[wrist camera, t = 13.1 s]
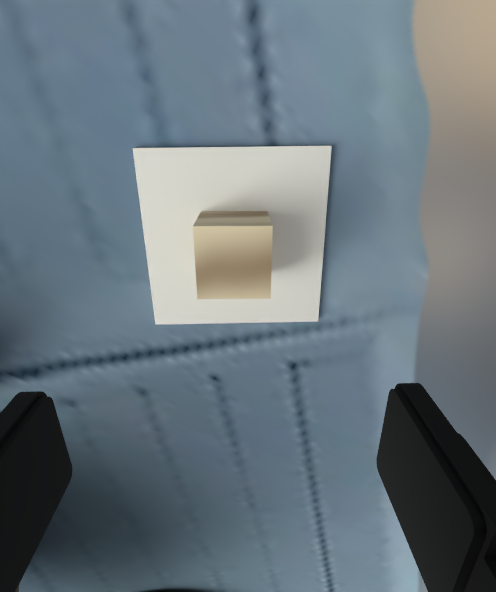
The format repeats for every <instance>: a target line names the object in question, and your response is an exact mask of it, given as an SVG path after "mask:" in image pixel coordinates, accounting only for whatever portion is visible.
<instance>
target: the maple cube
mask: <svg viewBox="0 0 496 592" xmlns="http://www.w3.org/2000/svg"><path fill="white" fill-rule="evenodd" d="M272 234H273V225H272V223H271V220H270V217H269V215H268V212H267V211H201V212H200V214H199V216H198V218H197V220H196V221H195V223H194V225H193V237H194V253H195V269H196V285H197V299H271V269H272Z"/></svg>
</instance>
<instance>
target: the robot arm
mask: <svg viewBox="0 0 496 592" xmlns="http://www.w3.org/2000/svg"><path fill="white" fill-rule="evenodd" d="M377 468H378V472H379V475H380V477H381V479H382V482H383V484H384V487H385V489H386V491H387V494H388V496H389V499H390V501H391V503H392V506H393V508H394V511H395V513H396V515H397V518H398V520H399V523H400V525H401V527H402V530H403V532H404V535H405V537H406V540H407V542H408V544H409V547H410V549H411V552H412V554H413V556H414V559H415V561H416V564H417V566H418V568H419V571H420V573H421V576H422V578H423V580H424V583H425V585H426V588H427V590H428V592H496V480H495V479H494V477H493V476H492V475H491V473H490V472H489V471H488V469H487V468H486V467H485V465H484V464H483V463H482V461H481V460H480V459H479V458H478V456H477V455H476V454H475V452H474V451H473V449H472V448H471V447H470V446H469V444H468V443H467V441H466V440H465V439H464V438H463V437H462V436H461V435H460V434H458V433H457V432H456V431H455V430H454V428H453V427H452V425H451V424H450V423H449V421H448V420H447V419H446V417H445V416H444V415H443V413H442V412H441V411H440V409H439V408H438V407H437V405H436V404H435V402H434V401H433V400H432V398H431V397H430V396H429V394H428V393H427V392H426V390H425V389H424V387H423V386H422V385H421V384H419V383H401V384H397V385H396V387H395V389H391V390H390V392H389V396H388V401H387V407H386V412H385V417H384V423H383V428H382V433H381V439H380V444H379V449H378V455H377ZM71 476H72V464H71V461H70V458H69V454H68V451H67V447H66V444H65V441H64V437H63V434H62V430H61V427H60V423H59V420H58V417H57V413H56V410H55V406H54V403H53V400H52V398H51V397H47V395H46V394H45V393H44V392H20V393H18V394H17V395H16V396H15V397H14V398H13V399H12V400H11V402H10V403H9V404H8V405H7V406H6V407H5V408H4V410H3V411H2V412H1V413H0V592H15V591H16V589H17V587H18V585H19V583H20V581H21V579H22V577H23V575H24V573H25V571H26V569H27V567H28V565H29V563H30V561H31V559H32V557H33V555H34V553H35V551H36V549H37V547H38V545H39V543H40V541H41V539H42V537H43V535H44V532H45V530H46V528H47V526H48V524H49V522H50V520H51V518H52V516H53V514H54V512H55V510H56V508H57V506H58V504H59V502H60V500H61V498H62V496H63V494H64V492H65V490H66V488H67V486H68V484H69V482H70V479H71Z"/></svg>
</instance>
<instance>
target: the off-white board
mask: <svg viewBox="0 0 496 592" xmlns="http://www.w3.org/2000/svg"><path fill="white" fill-rule="evenodd" d="M331 147H332V146H263V147H180V148H133V155H134V162H135V170H136V178H137V185H138V193H139V201H140V208H141V216H142V224H143V231H144V239H145V247H146V254H147V262H148V270H149V278H150V285H151V293H152V301H153V308H154V316H155V324H156V325H157V324H210V323H264V322H317V321H318V316H319V303H320V290H321V277H322V264H323V251H324V238H325V225H326V212H327V199H328V186H329V173H330V160H331ZM201 211H267V212H268V215H269V217H270V220H271V223H272V225H273V234H272V269H271V299H197V285H196V269H195V253H194V237H193V225H194V223H195V221H196V220H197V218H198V216H199V214H200V212H201Z"/></svg>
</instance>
